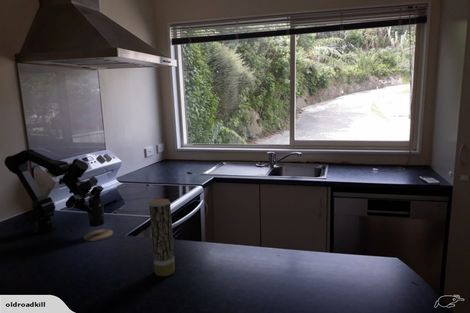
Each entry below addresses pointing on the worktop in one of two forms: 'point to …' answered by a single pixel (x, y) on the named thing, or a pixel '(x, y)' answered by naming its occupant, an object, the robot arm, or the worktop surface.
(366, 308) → the worktop surface
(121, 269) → the worktop surface
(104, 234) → the cork trivet
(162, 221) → the pale patterned cylinder
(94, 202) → the supplement bottle
